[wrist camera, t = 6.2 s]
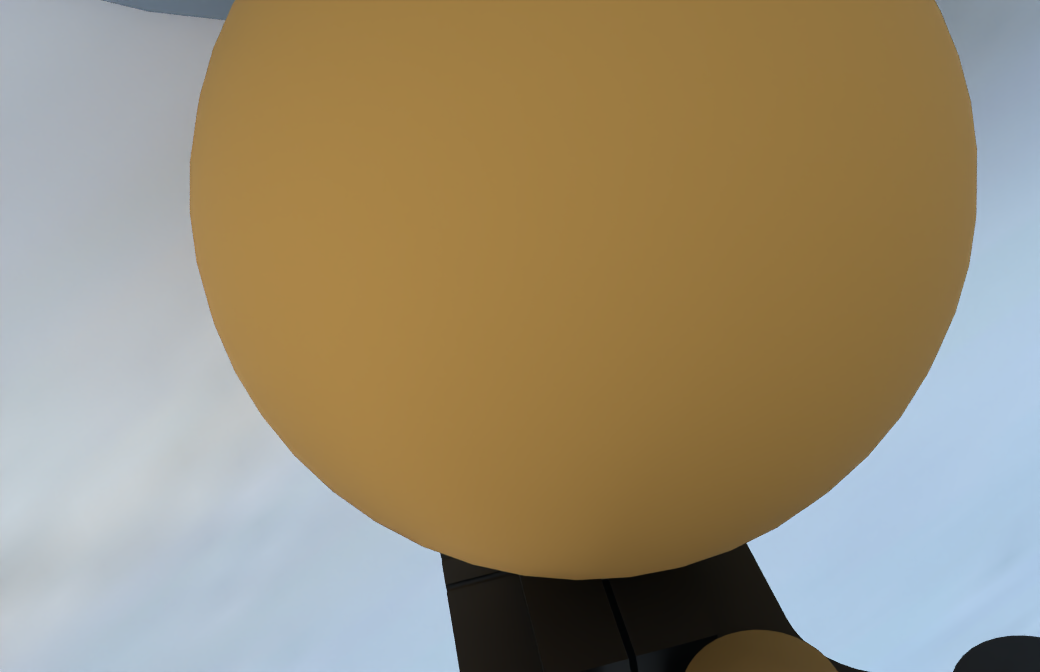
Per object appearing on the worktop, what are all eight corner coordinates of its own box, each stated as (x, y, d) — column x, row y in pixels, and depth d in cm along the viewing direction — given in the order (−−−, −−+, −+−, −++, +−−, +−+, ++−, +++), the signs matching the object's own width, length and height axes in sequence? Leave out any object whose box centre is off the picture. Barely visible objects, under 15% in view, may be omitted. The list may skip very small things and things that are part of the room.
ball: (691, -41, 12) (901, -581, 6) (903, 432, 11) (1394, 361, 5) (205, 131, 11) (-102, -273, 5) (391, 643, 10) (273, 837, 5)
